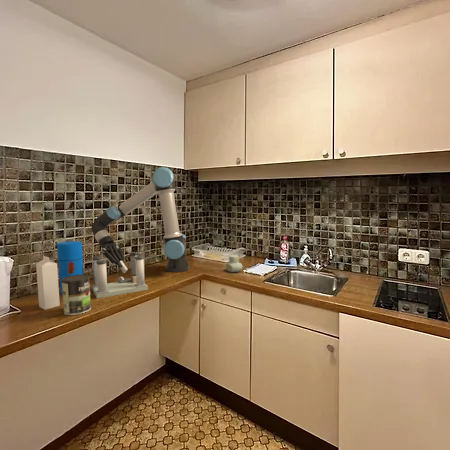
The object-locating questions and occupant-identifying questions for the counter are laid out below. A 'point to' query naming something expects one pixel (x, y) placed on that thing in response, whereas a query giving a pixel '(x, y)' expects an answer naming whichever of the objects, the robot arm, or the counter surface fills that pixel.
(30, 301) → the counter surface
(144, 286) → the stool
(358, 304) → the counter surface
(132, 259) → the folding leg
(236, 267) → the pipe tee fitting
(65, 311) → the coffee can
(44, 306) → the milk
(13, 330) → the counter surface
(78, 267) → the thermos
